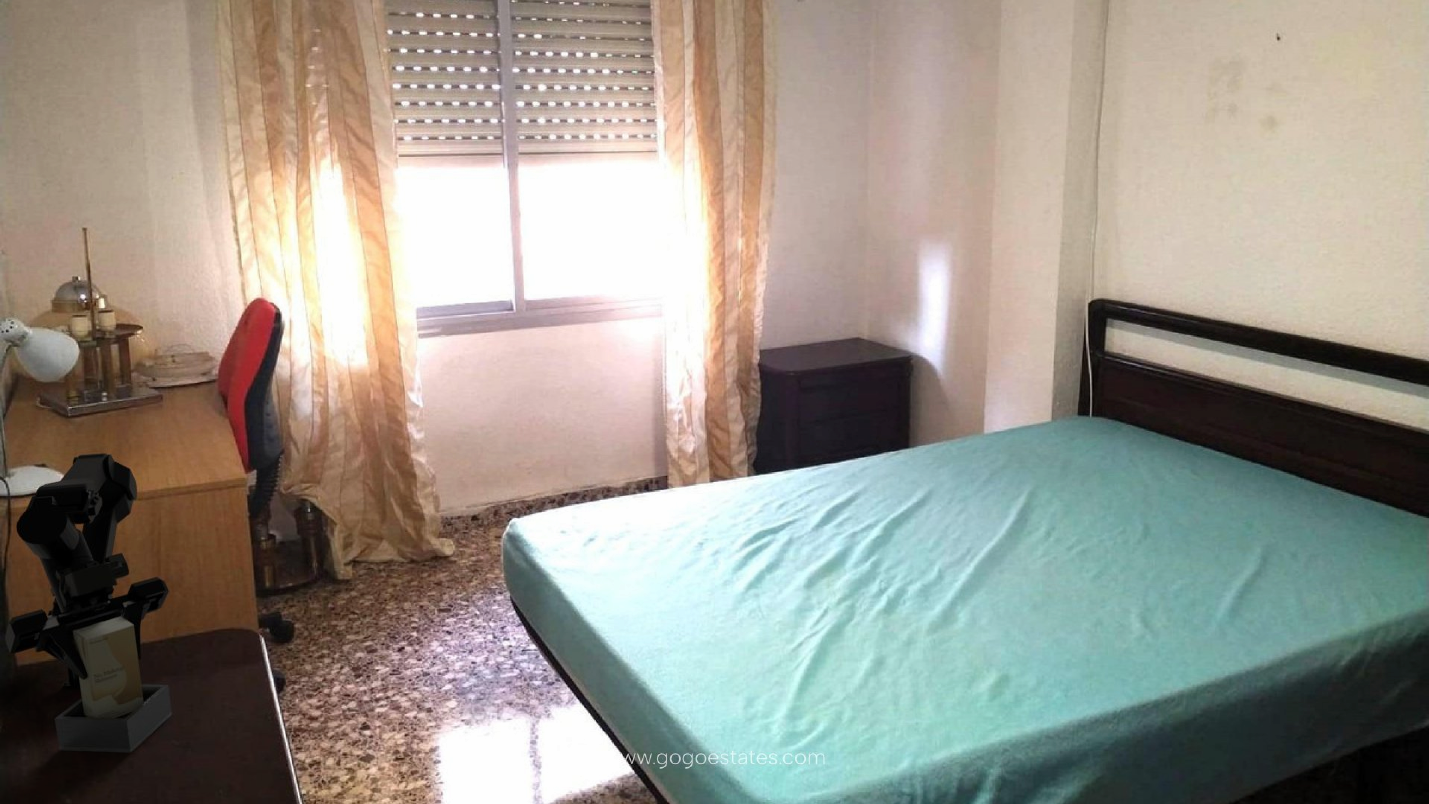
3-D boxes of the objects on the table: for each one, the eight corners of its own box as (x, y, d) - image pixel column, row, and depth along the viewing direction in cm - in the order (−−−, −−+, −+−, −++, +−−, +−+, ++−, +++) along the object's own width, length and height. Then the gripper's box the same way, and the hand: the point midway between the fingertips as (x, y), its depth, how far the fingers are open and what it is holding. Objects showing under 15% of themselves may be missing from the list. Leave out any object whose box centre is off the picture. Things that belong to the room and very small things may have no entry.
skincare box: (96, 726, 139) (82, 641, 136) (83, 715, 142) (69, 631, 139) (147, 706, 144) (135, 623, 141) (133, 696, 146) (121, 614, 143)
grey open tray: (59, 750, 139) (54, 718, 138) (104, 712, 148) (100, 683, 147) (130, 752, 138) (126, 721, 137) (172, 714, 147) (168, 685, 146)
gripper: (-2, 559, 133) (41, 669, 128) (154, 521, 146) (198, 619, 142) (-12, 600, 140) (29, 705, 135) (138, 560, 153) (180, 654, 149)
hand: (112, 669), depth 140 cm, fingers closed on skincare box, 6 cm apart
